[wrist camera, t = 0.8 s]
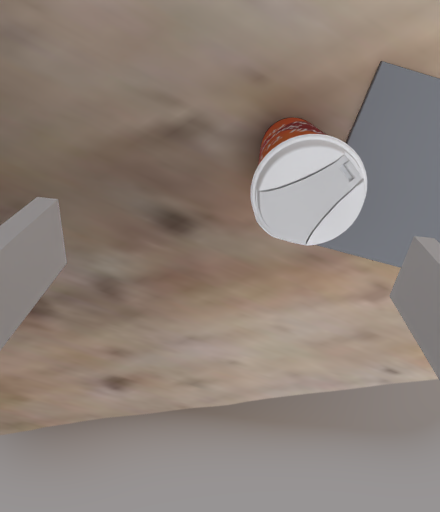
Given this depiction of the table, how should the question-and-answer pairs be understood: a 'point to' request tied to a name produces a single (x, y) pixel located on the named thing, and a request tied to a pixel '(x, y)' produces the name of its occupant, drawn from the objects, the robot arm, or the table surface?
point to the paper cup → (306, 184)
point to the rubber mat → (396, 166)
